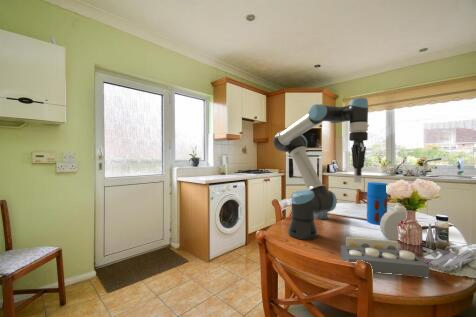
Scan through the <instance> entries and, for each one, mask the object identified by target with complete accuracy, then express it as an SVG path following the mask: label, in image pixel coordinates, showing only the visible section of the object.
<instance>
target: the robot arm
mask: <svg viewBox="0 0 476 317" xmlns="http://www.w3.org/2000/svg"><path fill="white" fill-rule="evenodd" d="M368 117H369V100H368V99H367V98H366V97H356V98H352V99H350V101H349V104H348V105H344V106H336V105H326V104H321V103H320V104H317V103H316V104H312V105H311V106H310V108H309V109H308V113H307V114H305V115H303V117H301V118H299V119H298V120H297V121H295V122H293V124H291V125H290V126H288V127H287V128H285V129H284V130H280V131H277V133H276V134H275V135H274V136H273V139H272V145H273V146H274V148H275V149H276V150H278V151H280V152H287V153H288V154H289V157H291V158H293V160H294V163H295V164H296V166H297V169H298V171H299V174H300V175H301V178H302V180H303V182H304V183H303V184H305V187H306V189H301V190H296V191H294V192H293V193H292V194H291V219H290V220H291V221H290V223H289V226H288V230H287V233H288V236H290V237H292V238H293V239H299V240H305V241H307V240H314V239H316V238H318V229H317V226H316V223H315V218H314V214H318V213H327V214H328V213H329V212H331V211H332V212H333V211H334V210H335V208H337V207H336V206H337V202H338V199H337V196H336V193H334V192H333V191H331V190H328V188H327V186H326V185H325V184H322V182H321V180H320V178H319V175H318V174H317V172H316V169H315V168H314V165H313V164H312V161H311V160H310V158H309V155H308V154H307V149H308V140H307V138H306V137H305V136H304V135H303V134H305V133H306V132H308V131H310V130H311V129H313V128H314V127H316V126H317V125H319V124H321V123H323V122H329V123H331V124H339V123H344V122H349V125H348V126H349V130H348V131H349V134H348V135H349V139H348V140H349V141H350V142H352V141H353V144H352V145H351V146H352V147H351V148H350V149H351V158H352V159H351V160H352V167H353V170H354V173H353V175H354V176H353V177H354V178H353V183H358V184H361V183H362V172H363V171H362V169H363V168H364V167H365V157H366V156H365V155H366V150H367V147H366V146H365V144H364V141H368V138H369V135H368V134H369V133H368V132H367V131H368V130H369V126H370V125H369V121H368V120H369V119H368Z"/></svg>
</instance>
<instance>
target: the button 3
mask: <svg viewBox="0 0 476 317" xmlns="http://www.w3.org/2000/svg"><path fill="white" fill-rule="evenodd" d="M382 256H383V257H384V258H391V259H396V256H395V255H393V254H391V253H382Z"/></svg>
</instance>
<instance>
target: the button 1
mask: <svg viewBox="0 0 476 317" xmlns="http://www.w3.org/2000/svg"><path fill="white" fill-rule="evenodd" d="M349 254H350V255H357V256H362V253H361V252H360V251H357V250H349Z"/></svg>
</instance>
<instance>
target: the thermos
mask: <svg viewBox="0 0 476 317" xmlns="http://www.w3.org/2000/svg"><path fill="white" fill-rule="evenodd" d="M386 185H387V186H388V183H385V182H376V181H375V182H374V181H373V182H372V181H371V182H367V185H366V186H367V187H366V188H367V189H366V190H367V191H366V194H367V195H366V222H367V223H369V224H371V225H376V226H380V222H381V218H382V217H383V215H384V214H385V213H386V212H388V194H387V193H386Z"/></svg>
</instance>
